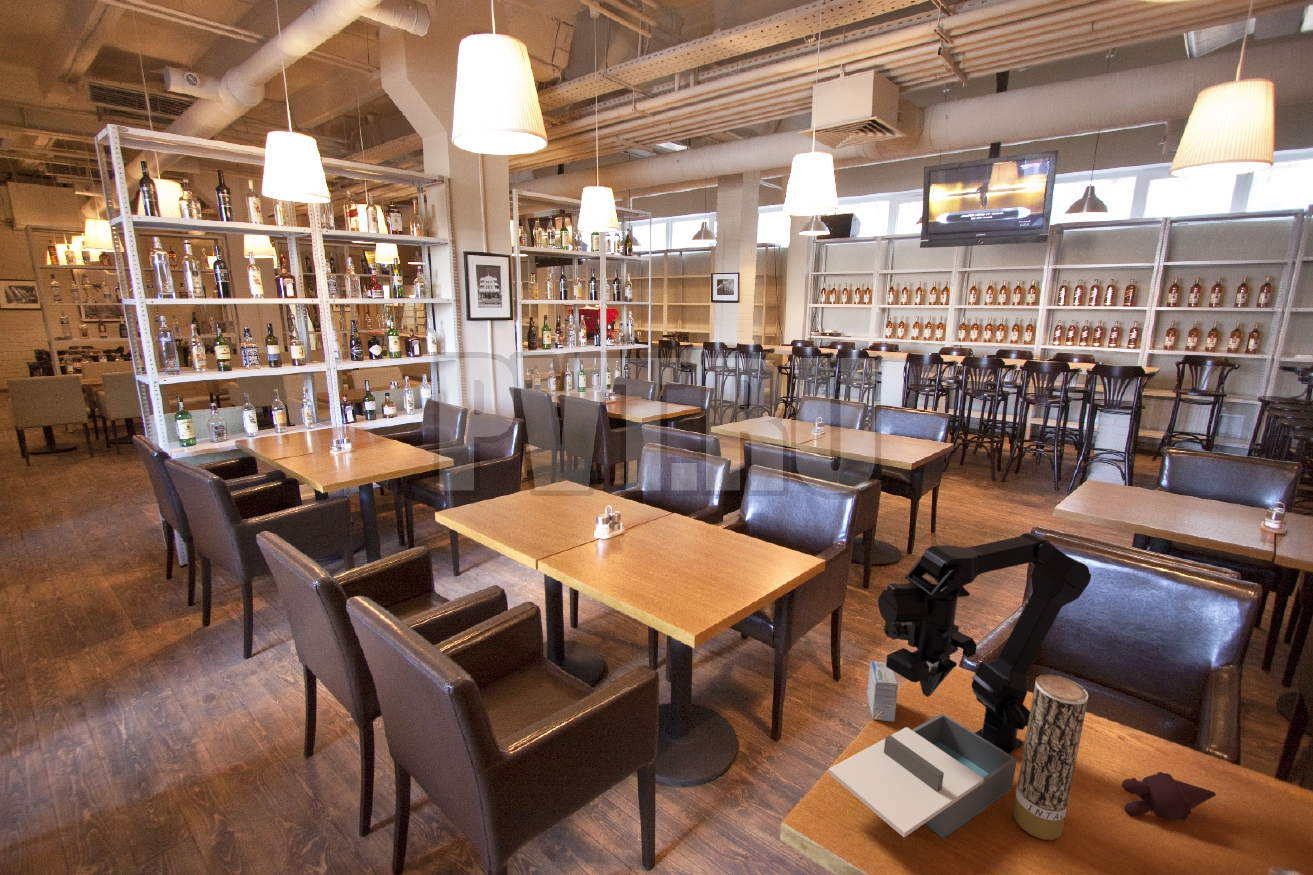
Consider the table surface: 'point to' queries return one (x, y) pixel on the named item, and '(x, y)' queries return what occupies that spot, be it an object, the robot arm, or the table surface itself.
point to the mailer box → (977, 758)
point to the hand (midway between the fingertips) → (926, 694)
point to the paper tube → (1049, 755)
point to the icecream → (1164, 796)
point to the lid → (905, 779)
